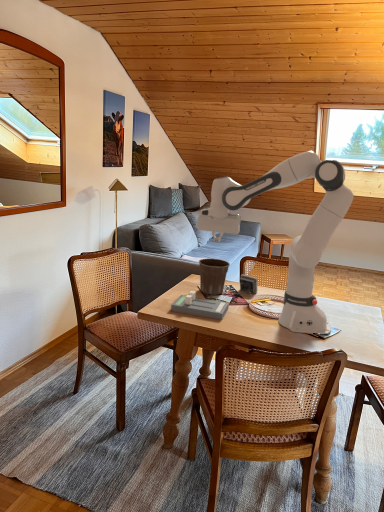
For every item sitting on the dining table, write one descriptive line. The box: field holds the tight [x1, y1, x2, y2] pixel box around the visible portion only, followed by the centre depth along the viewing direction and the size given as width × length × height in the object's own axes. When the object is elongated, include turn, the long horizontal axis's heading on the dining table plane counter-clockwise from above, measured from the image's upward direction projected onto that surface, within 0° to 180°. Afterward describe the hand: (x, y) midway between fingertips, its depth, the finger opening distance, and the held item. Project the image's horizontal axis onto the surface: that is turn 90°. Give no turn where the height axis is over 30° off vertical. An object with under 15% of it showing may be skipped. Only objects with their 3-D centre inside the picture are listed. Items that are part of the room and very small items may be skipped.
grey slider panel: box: [170, 294, 230, 321], centre depth 183 cm, size 24×14×3 cm, turn 74°
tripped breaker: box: [188, 290, 197, 300], centre depth 186 cm, size 2×3×4 cm
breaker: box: [185, 294, 192, 305], centre depth 181 cm, size 2×3×4 cm
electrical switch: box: [239, 273, 258, 295], centre depth 210 cm, size 9×5×9 cm, turn 57°
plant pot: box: [198, 258, 230, 296], centre depth 207 cm, size 16×16×16 cm
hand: (216, 241), depth 185 cm, fingers closed
